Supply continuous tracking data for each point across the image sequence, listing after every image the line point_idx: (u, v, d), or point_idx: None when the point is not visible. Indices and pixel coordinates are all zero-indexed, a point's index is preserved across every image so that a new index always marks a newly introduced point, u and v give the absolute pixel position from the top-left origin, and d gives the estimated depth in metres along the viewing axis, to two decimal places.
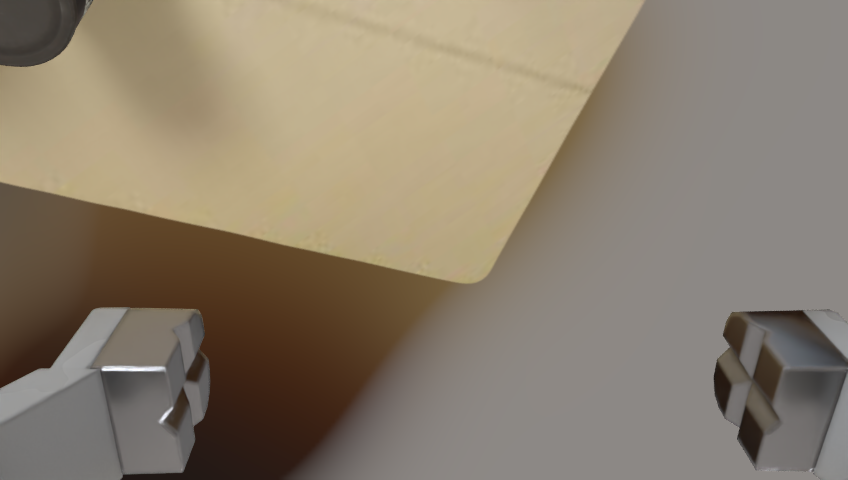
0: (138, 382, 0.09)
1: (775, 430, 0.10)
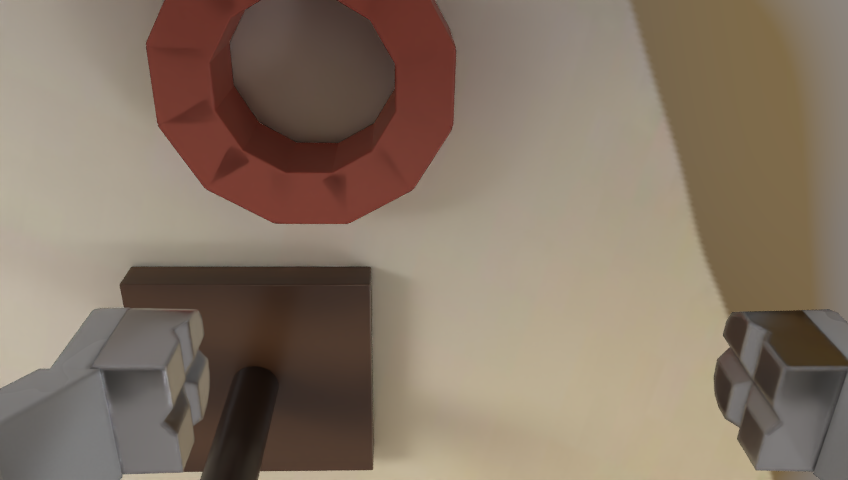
0: (138, 382, 0.09)
1: (775, 431, 0.10)
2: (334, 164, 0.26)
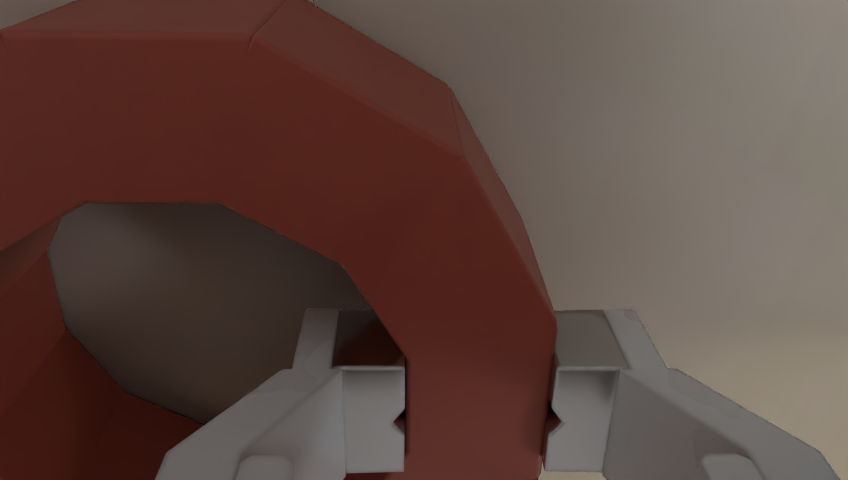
0: (375, 382, 0.10)
1: (557, 432, 0.10)
2: None
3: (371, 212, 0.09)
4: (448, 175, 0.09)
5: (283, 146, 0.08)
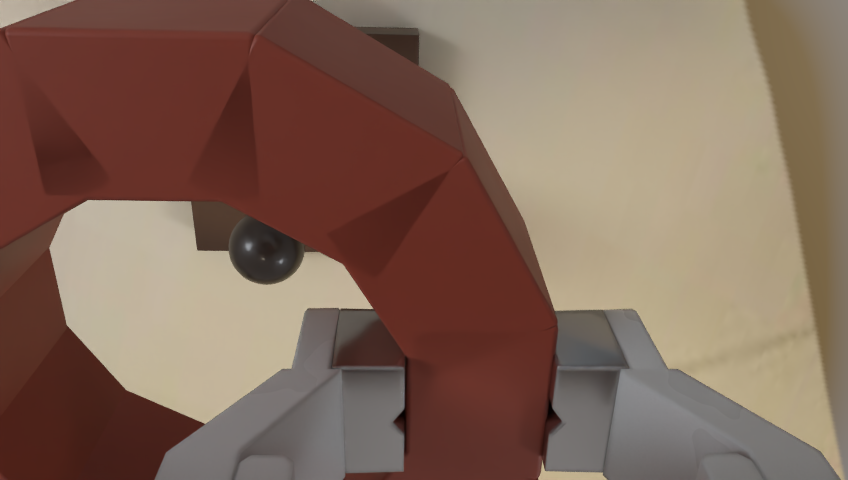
0: (375, 382, 0.10)
1: (557, 431, 0.10)
2: None
3: (373, 211, 0.09)
4: (450, 175, 0.09)
5: (285, 145, 0.08)
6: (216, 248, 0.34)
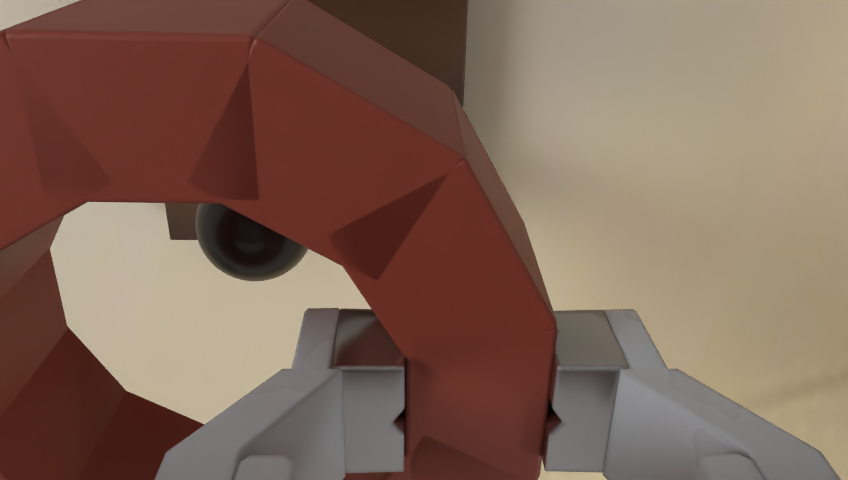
0: (375, 382, 0.10)
1: (557, 431, 0.10)
2: None
3: (372, 213, 0.09)
4: (449, 178, 0.09)
5: (284, 147, 0.08)
6: (195, 237, 0.26)
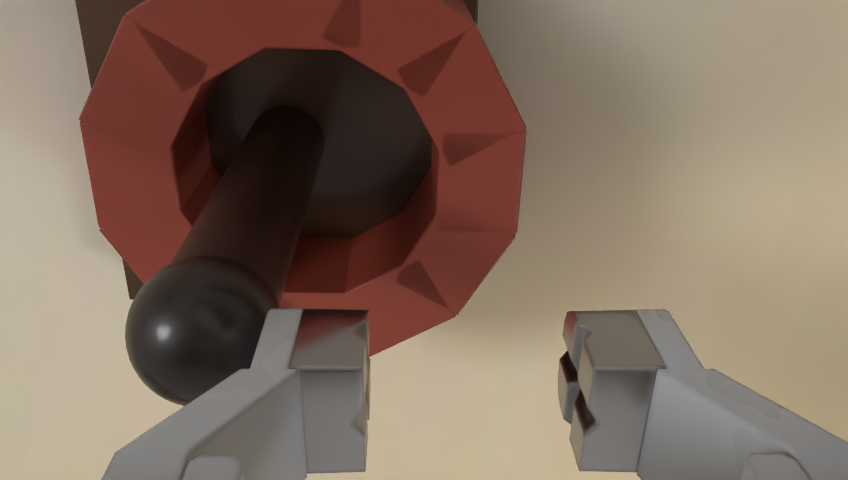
0: (334, 382, 0.10)
1: (591, 432, 0.10)
2: (348, 277, 0.19)
3: (422, 55, 0.16)
4: (465, 35, 0.16)
5: (376, 15, 0.15)
6: None
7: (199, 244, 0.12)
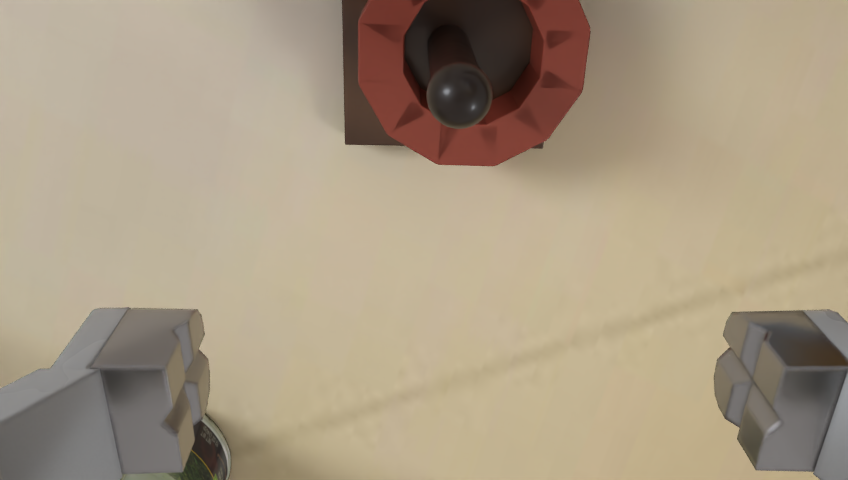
0: (138, 382, 0.09)
1: (775, 431, 0.10)
2: (485, 119, 0.34)
3: None
4: None
5: None
6: (362, 142, 0.37)
7: (451, 61, 0.27)
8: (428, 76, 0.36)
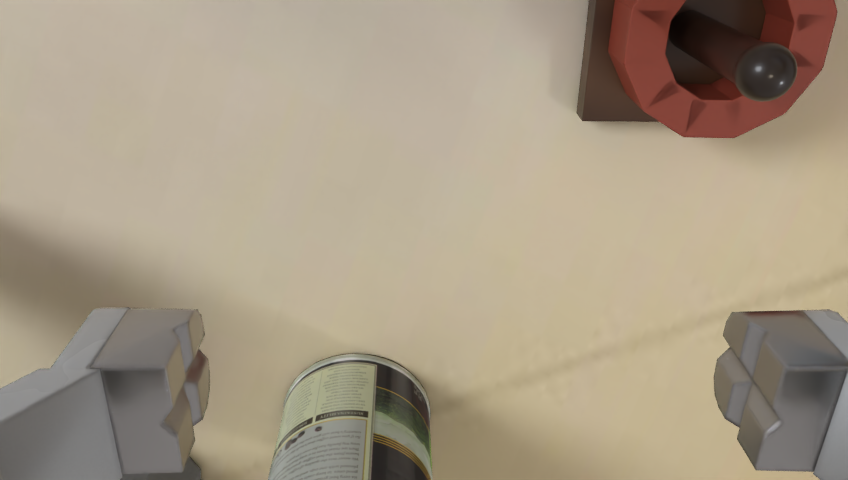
0: (138, 382, 0.09)
1: (775, 430, 0.10)
2: (727, 95, 0.38)
3: None
4: None
5: None
6: (598, 119, 0.41)
7: (751, 42, 0.31)
8: None
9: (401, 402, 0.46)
